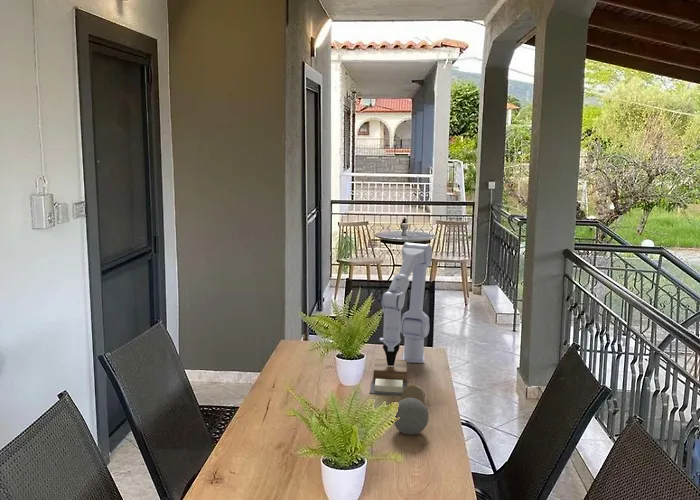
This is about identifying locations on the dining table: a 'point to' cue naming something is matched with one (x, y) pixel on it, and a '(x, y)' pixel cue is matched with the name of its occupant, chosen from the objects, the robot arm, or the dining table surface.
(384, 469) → the dining table surface
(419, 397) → the tan short cylinder
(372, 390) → the mat
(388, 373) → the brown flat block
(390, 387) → the cream rectangular block
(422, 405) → the decorative ball
